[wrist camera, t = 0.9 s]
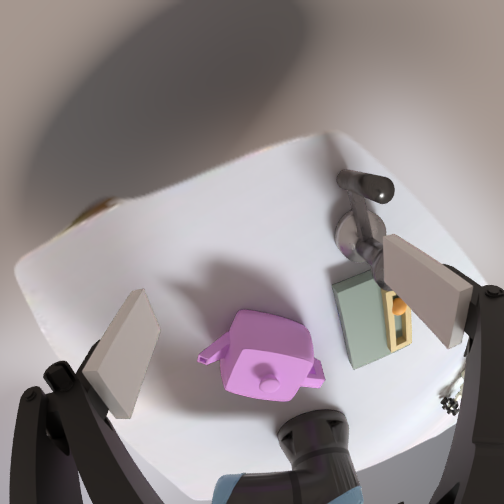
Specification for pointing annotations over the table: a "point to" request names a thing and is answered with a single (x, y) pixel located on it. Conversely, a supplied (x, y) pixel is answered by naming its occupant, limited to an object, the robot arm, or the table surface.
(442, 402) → the valve
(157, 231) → the table surface
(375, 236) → the cam capstan
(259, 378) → the teapot
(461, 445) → the robot arm
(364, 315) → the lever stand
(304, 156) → the table surface
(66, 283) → the table surface
